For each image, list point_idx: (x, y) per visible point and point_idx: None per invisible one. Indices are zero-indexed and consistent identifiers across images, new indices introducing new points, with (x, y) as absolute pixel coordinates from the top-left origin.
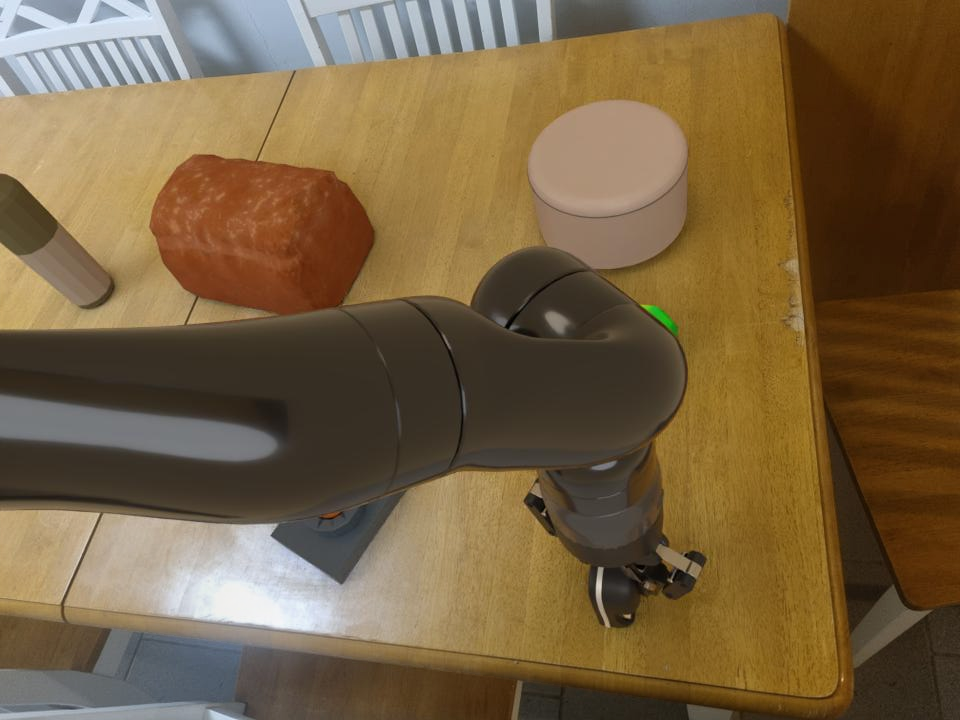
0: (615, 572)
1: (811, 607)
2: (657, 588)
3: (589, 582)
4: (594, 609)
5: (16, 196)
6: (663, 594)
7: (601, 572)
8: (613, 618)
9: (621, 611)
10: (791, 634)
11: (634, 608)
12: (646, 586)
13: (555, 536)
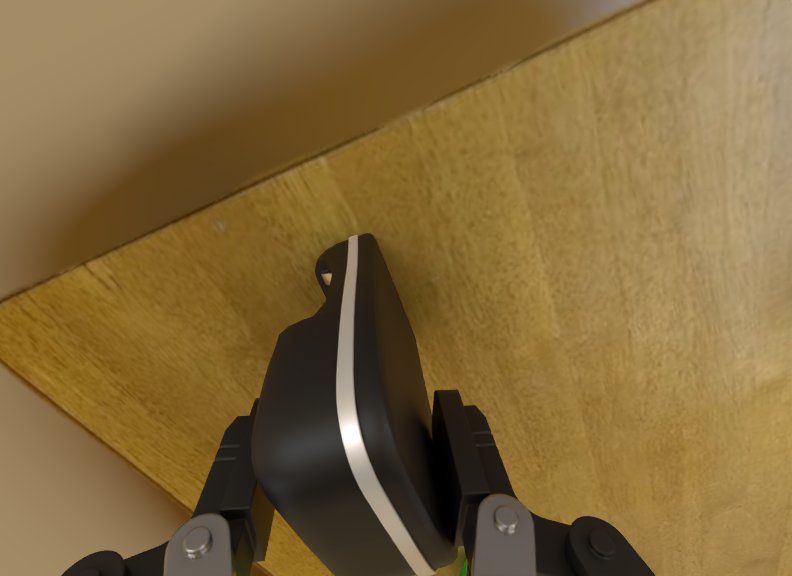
0: (327, 512)
1: (102, 410)
2: (205, 488)
3: (394, 444)
4: (370, 297)
5: None
6: (122, 559)
7: (370, 495)
8: (334, 278)
9: (294, 342)
10: (94, 368)
11: (269, 363)
12: (189, 555)
13: (576, 524)
